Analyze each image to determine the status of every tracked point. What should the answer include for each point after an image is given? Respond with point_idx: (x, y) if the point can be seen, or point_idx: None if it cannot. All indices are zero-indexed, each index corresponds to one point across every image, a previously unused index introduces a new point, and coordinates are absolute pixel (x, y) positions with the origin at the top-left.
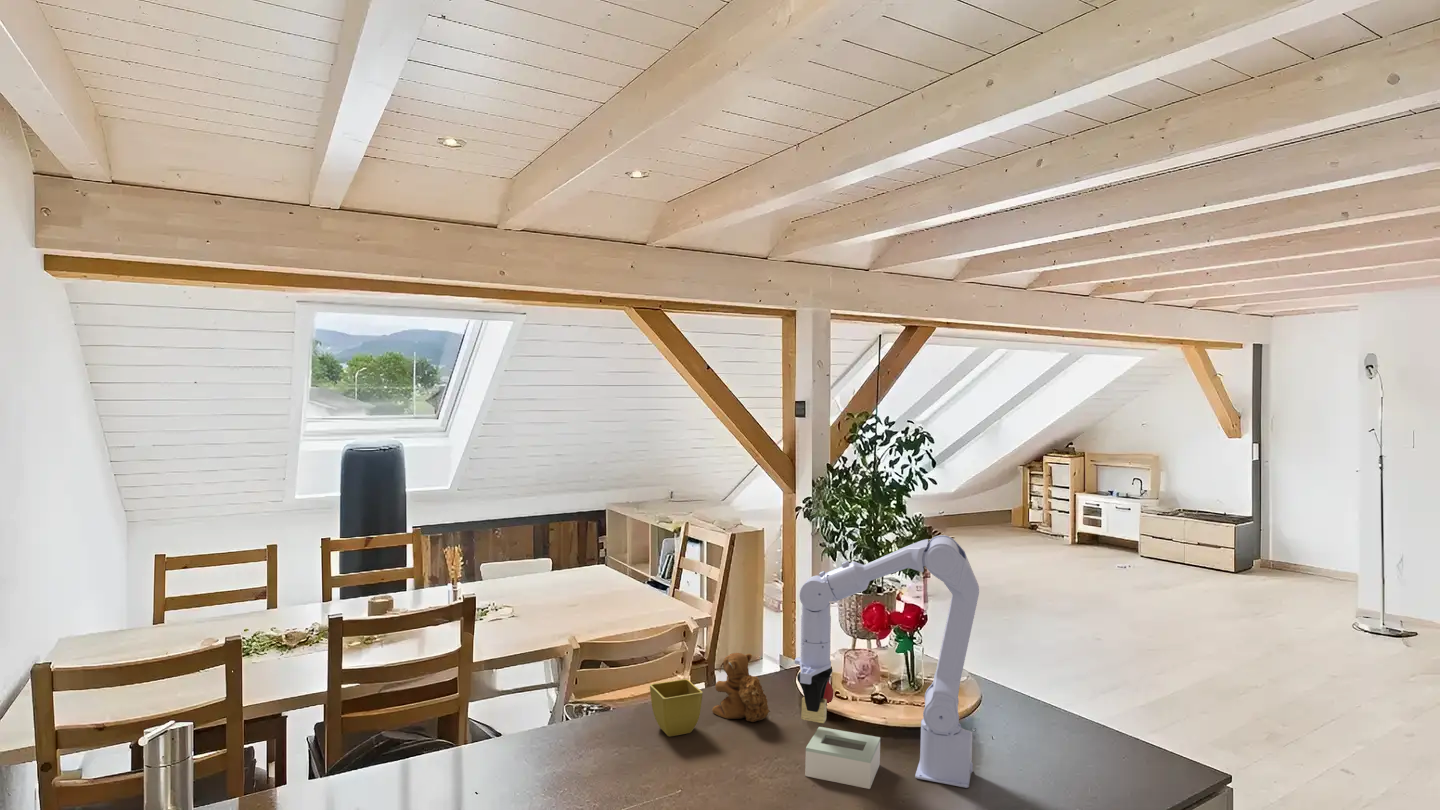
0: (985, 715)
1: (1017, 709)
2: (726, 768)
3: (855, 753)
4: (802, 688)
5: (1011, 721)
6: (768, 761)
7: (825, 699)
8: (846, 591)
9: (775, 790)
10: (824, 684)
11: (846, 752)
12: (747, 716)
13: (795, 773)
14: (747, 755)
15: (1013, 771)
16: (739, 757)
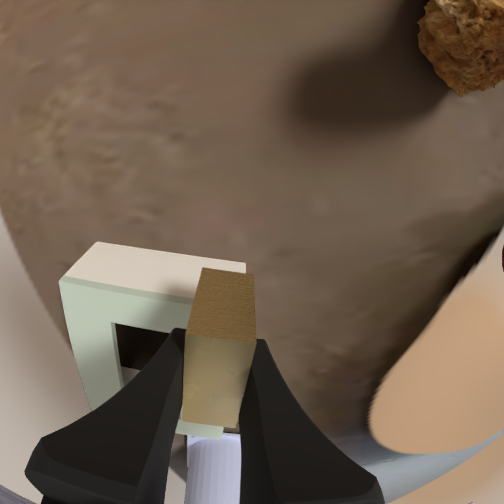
0: (429, 457)
1: (436, 468)
2: (74, 24)
3: (102, 395)
4: (100, 408)
5: (407, 474)
6: (143, 120)
7: (230, 424)
8: None
9: (15, 183)
10: (240, 485)
11: (94, 379)
12: (421, 19)
13: (100, 214)
14: (166, 46)
15: None
16: (147, 28)
